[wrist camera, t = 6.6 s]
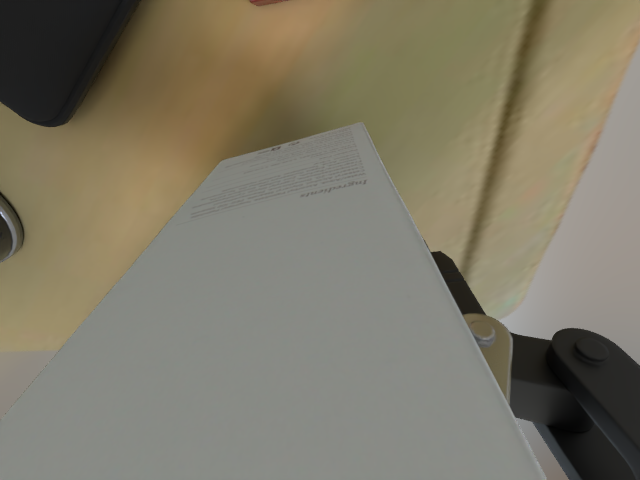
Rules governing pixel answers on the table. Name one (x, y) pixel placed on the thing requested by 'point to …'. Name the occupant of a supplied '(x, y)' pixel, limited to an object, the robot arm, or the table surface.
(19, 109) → the carrying case
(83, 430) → the small box
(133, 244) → the table surface
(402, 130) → the table surface
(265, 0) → the button panel
